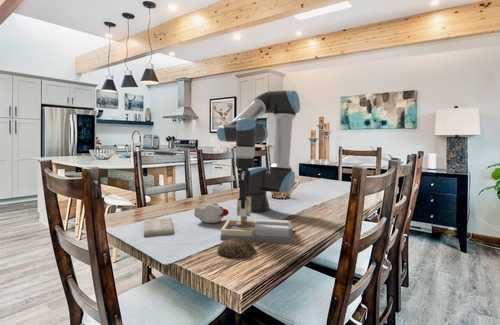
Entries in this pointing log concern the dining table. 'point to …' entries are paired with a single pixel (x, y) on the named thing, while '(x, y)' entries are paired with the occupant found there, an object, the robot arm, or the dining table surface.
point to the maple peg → (243, 222)
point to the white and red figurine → (210, 213)
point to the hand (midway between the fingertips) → (243, 214)
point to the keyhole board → (260, 231)
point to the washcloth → (158, 227)
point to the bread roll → (236, 248)
